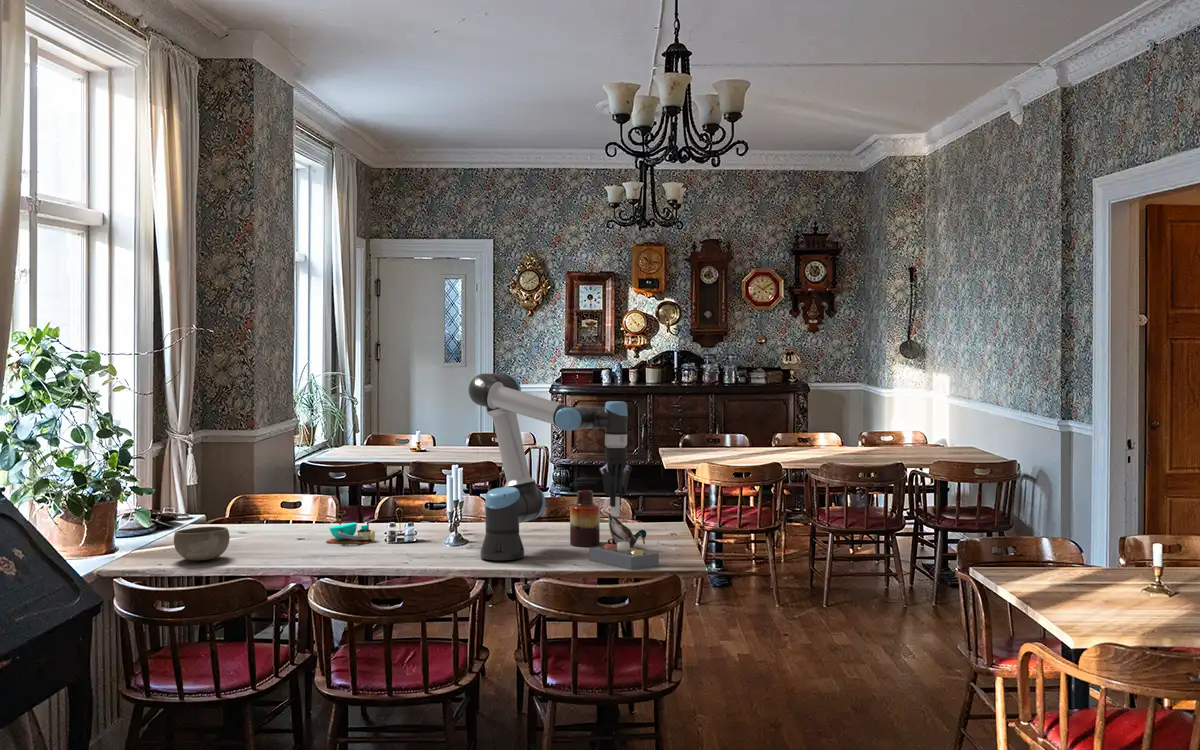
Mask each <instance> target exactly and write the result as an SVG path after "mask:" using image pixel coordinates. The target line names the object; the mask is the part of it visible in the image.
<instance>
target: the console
mask: <svg viewBox="0 0 1200 750" xmlns="http://www.w3.org/2000/svg"><path fill="white" fill-rule="evenodd" d="M631 550H641V549H638V548H636V547H635V548H634V547H631V548H630V552H625V553H621V552H617V544H616V549H613V550H607V549H604V545H603V546H595V547H588V560H589V561H591V562H596V563H600V564H604V565H605V564H606V565H608V566H613V567H618V568H621V569H625V570H630V571H631V570H637V569H644V568H651V567H658V566H659V564H660V561H659V560H660V559H659V553H658V552H653V551H650V550H649V551H648V550H644V549H642V550H643V555H638V556H635V555H631Z"/></svg>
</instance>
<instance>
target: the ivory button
mask: <svg viewBox="0 0 1200 750" xmlns="http://www.w3.org/2000/svg"><path fill="white" fill-rule="evenodd" d="M616 543H617V544H616V545H617V552H621V553H625V552H630V543H629V542H616Z"/></svg>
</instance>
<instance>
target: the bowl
mask: <svg viewBox="0 0 1200 750" xmlns="http://www.w3.org/2000/svg"><path fill="white" fill-rule="evenodd" d="M230 538H231V537H230V532H229V529H228V527H226V526H224V527H223V526H199V527H191V528H190V527H189V528H184V529H180V530H177V531H175V532H174V535H173V545H174V548H175V551H176V552H177V553H178V555H179V556H180V557H182V558H183V559H185V560H189V561H207V560H213V559H217V558H218V557H220V556H222V555H223V554H224V553H225V552H226V550H227V548H228V546H229V544H230Z"/></svg>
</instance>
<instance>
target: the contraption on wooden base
mask: <svg viewBox="0 0 1200 750" xmlns="http://www.w3.org/2000/svg"><path fill="white" fill-rule="evenodd" d="M346 514H347V512H346V510H338V511H337V512H336V515H337V516H336V517H335V519H334V522H337V518H338V516H340V520H342V519H343V516H344V515H346ZM365 522H366V524H361V525H360V528H361V529H359V530H357V528H358V527H357V525H358V523H357V522H349V523H344V524H342V521H340V522H338V525H333V526H331V527H329V530H330V533H331V535H332V537H334V538H330V539H327V540H326V541H325V543H326V544H329V545H330V544H331V545H334V544H335V545H354V544H355V545H356V544H357V545H359V546H360V545H361V546H362V545H368V544H371V543H372V542H374V541H375V537H376V532H375V530H371V529H370V528H369V527H370V525H369V524H370V523H369V522H370V518H369V517H365V518H363V523H365ZM356 533H357V535H355V534H356ZM355 545H354V546H355Z"/></svg>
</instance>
